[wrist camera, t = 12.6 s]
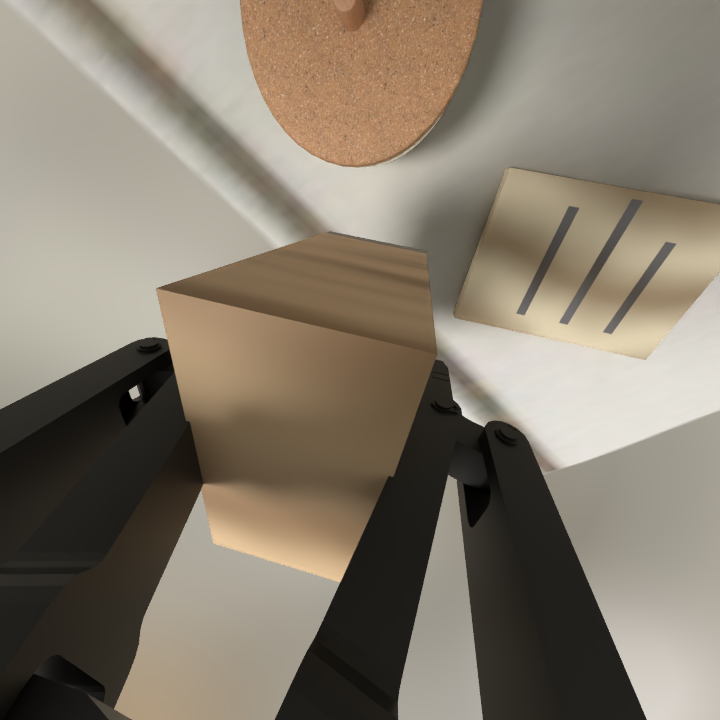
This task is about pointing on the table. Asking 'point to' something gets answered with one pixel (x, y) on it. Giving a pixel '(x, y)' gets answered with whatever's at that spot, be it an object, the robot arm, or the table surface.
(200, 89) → the table surface
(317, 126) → the lidded jar
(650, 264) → the board
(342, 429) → the block
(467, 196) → the table surface
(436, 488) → the robot arm
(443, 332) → the table surface
